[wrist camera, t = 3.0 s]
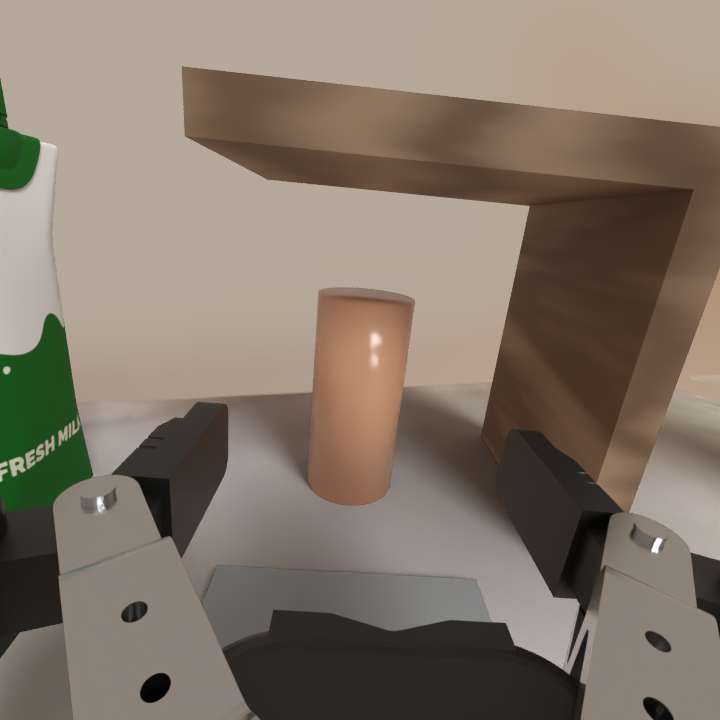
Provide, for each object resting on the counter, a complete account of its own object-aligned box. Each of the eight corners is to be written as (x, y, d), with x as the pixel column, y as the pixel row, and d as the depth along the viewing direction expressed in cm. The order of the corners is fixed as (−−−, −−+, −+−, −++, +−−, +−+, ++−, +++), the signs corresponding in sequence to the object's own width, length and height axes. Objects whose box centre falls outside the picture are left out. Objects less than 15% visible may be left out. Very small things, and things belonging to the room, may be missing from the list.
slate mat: (474, 587, 19) (476, 579, 19) (555, 829, 11) (560, 819, 11) (217, 573, 18) (217, 565, 18) (123, 818, 11) (121, 807, 11)
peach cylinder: (386, 457, 29) (407, 292, 25) (393, 508, 24) (422, 309, 20) (311, 452, 29) (322, 284, 25) (303, 502, 24) (314, 300, 20)
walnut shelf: (504, 437, 33) (565, 177, 27) (604, 577, 20) (769, 132, 14) (263, 420, 33) (268, 146, 26) (203, 555, 19) (181, 66, 13)
